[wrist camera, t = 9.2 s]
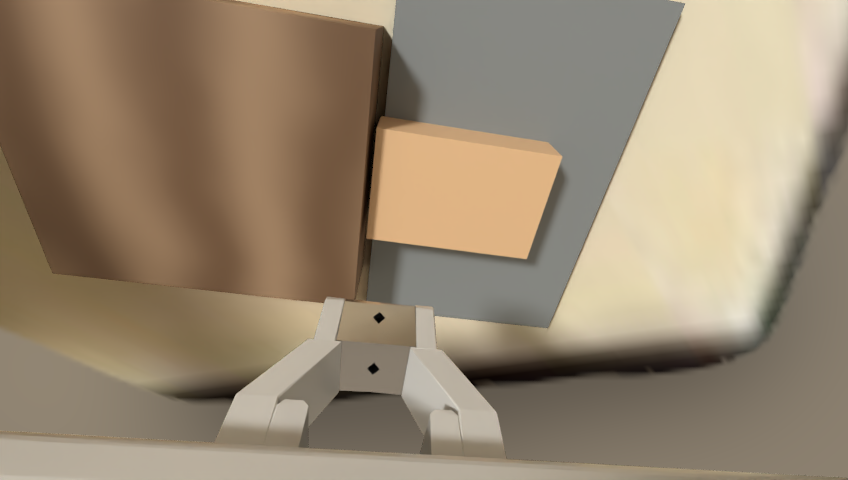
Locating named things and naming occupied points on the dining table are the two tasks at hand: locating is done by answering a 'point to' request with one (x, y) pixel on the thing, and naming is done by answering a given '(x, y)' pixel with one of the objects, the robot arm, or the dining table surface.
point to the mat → (520, 131)
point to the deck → (192, 141)
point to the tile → (458, 188)
